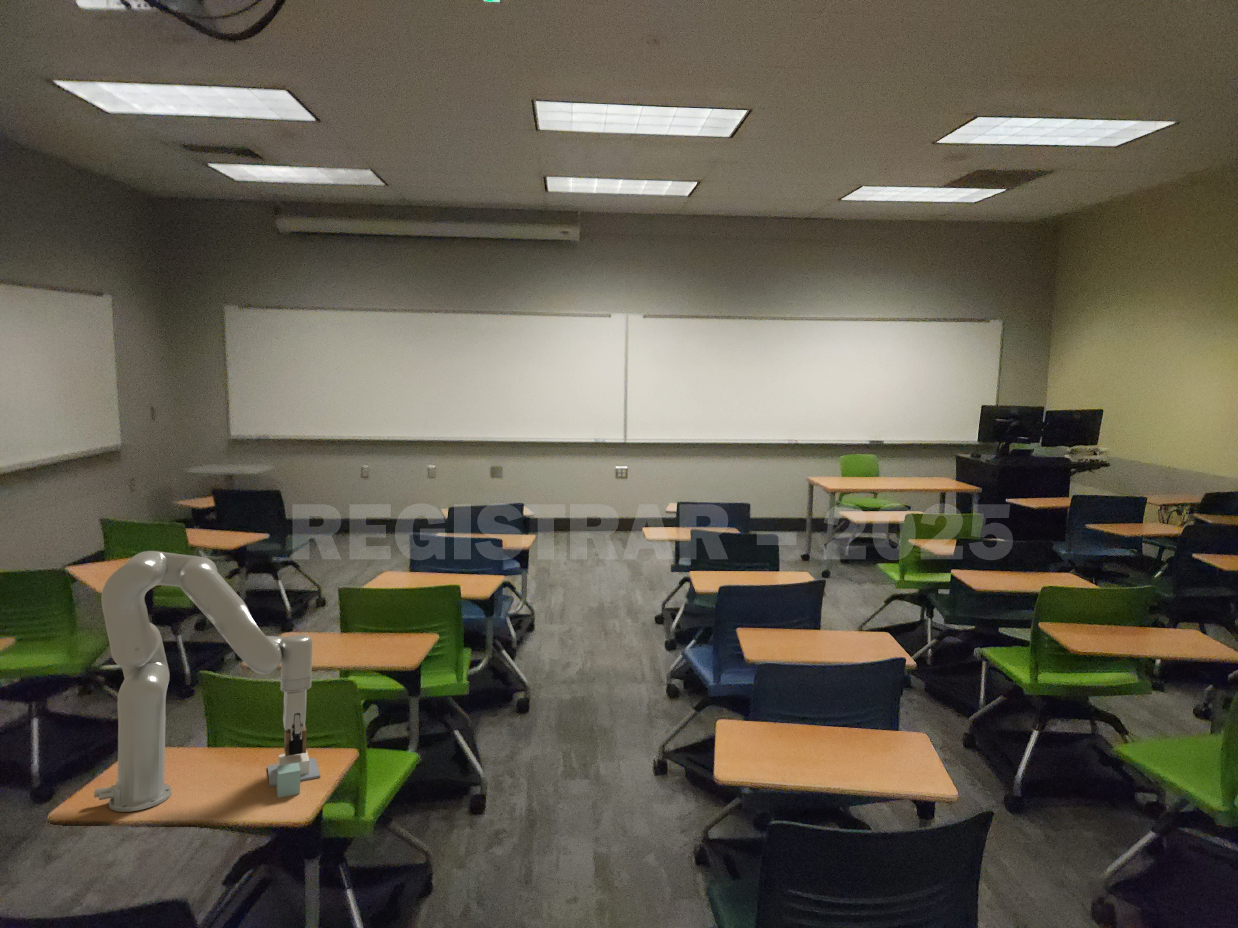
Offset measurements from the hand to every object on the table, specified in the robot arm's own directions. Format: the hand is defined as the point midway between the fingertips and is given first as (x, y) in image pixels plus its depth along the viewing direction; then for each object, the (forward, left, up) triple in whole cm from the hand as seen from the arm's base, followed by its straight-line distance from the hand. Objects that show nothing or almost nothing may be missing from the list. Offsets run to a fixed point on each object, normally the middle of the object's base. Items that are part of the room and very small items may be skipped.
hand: (294, 748), depth 186 cm
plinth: (0, 0, -6) cm, 6 cm away
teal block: (-2, -10, -6) cm, 12 cm away
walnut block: (0, 0, -1) cm, 1 cm away
